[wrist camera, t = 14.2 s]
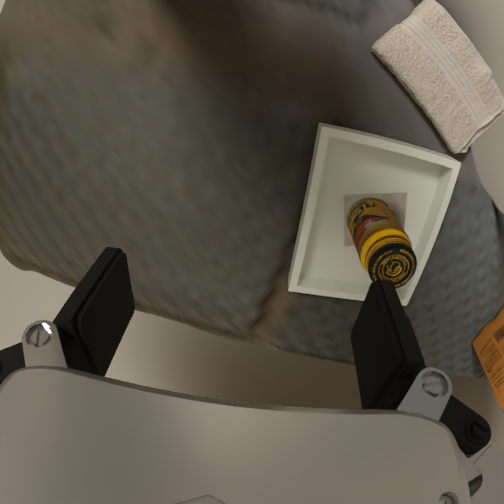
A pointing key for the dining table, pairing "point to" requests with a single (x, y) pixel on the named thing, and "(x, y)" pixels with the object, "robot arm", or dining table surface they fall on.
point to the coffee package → (493, 354)
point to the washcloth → (442, 74)
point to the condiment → (380, 235)
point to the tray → (365, 182)
